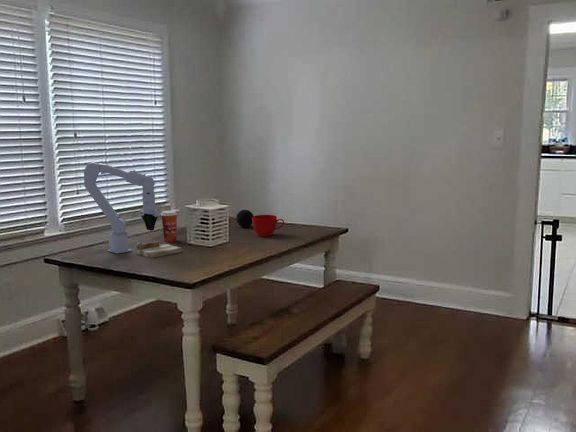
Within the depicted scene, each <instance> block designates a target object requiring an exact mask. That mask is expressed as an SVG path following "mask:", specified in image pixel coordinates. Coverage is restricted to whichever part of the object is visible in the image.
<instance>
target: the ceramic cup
mask: <svg viewBox="0 0 576 432" xmlns="http://www.w3.org/2000/svg"><path fill="white" fill-rule="evenodd" d="M280 221H282V224H281V225H280V226H278V227H276V226H277V224H278V222H280ZM284 224H285V220H284V219H282V218H278V219H277V215H274V214H258V215H253V217H252V227H253V229H254V232H255V233H256V234H257V236H259V237H271V236H272V235H273V233H274V232H275V230H280V229H281V228H282V227H283V226H284Z"/></svg>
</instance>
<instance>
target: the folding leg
mask: <svg viewBox="0 0 576 432" xmlns="http://www.w3.org/2000/svg"><path fill="white" fill-rule="evenodd" d="M160 245H161V244H160V241H158V240H155V241H150V242H143V243H142V242H137V243H136V248H135V249H144V248H150V247H156V246H160Z"/></svg>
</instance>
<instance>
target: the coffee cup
mask: <svg viewBox="0 0 576 432" xmlns="http://www.w3.org/2000/svg"><path fill="white" fill-rule="evenodd" d="M160 216H161V224H162V233H163V240H164V242H165V243H170V242H171V243H172V242H176V241H177V233H178V232H177V231H178V230H177V227H178V225H177V224H178V223H177V222H178V221H177V220H178V217H177V216H178V213H177V211H176V210H163V211H161V213H160Z"/></svg>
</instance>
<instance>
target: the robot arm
mask: <svg viewBox="0 0 576 432" xmlns="http://www.w3.org/2000/svg"><path fill="white" fill-rule="evenodd" d="M99 174H100V175H105V174H109V175H113V176H116V177H119V178H122V179H124V180H125V182H126V183H129V184H132V185H135V186H138V187H140V186H141V187H142V192H141V193H142V194H141V196H142V209H139V214H142V215H141V216H140V217H141V218H142V220H143V222H144V224H145V229H146V230H147V231H150V232H151V231H155V227H156V222H157V220H158V219H159V217H160V212H159V211H158V209H156V198H155V197H156V196H155V195H156V194H155V193H156V192H155V187H154V186H155V180H154V178H153V177H152V176H151V175H146V174H145V173H143V174H142V173H140V172H138V171H137V170H135V169H132V170H128V171H125V170H123V169H120V168H118V167H115V166H112V165H109V164H106V163H101V162H97V161H90V162H88V164H86V166H85V168H84V171H83V187H84V188H85V190H87V192H88V193H89V195H90V196H91V197H92V199H93V200H94V202H95V203H96V204H97V206H98V207H99V209H100V210H101V211H102V213H103V214H104V215H105V217H106V219H107V220H108V222H109V224H110V226H111V227H110V228H111V230H112V231H111V232H110V233H109V234H108V248H109V249H107V251H108V252H111V253H114V254H122V253H127V252H128V253H129V252H132V251H133V249H130V248H129V240H128V230H126V225H127V222H126V220H125V218H123V217H121V216H120V215H119V213H117V212H116V211H115V209H114V207H113V206H112V205H111V203H110V202H109V200H108V199H107V197H106V196H105V195H104V193H103V192H102V191H101V189H100V187H98V185H97V178H98V176H99Z"/></svg>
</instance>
